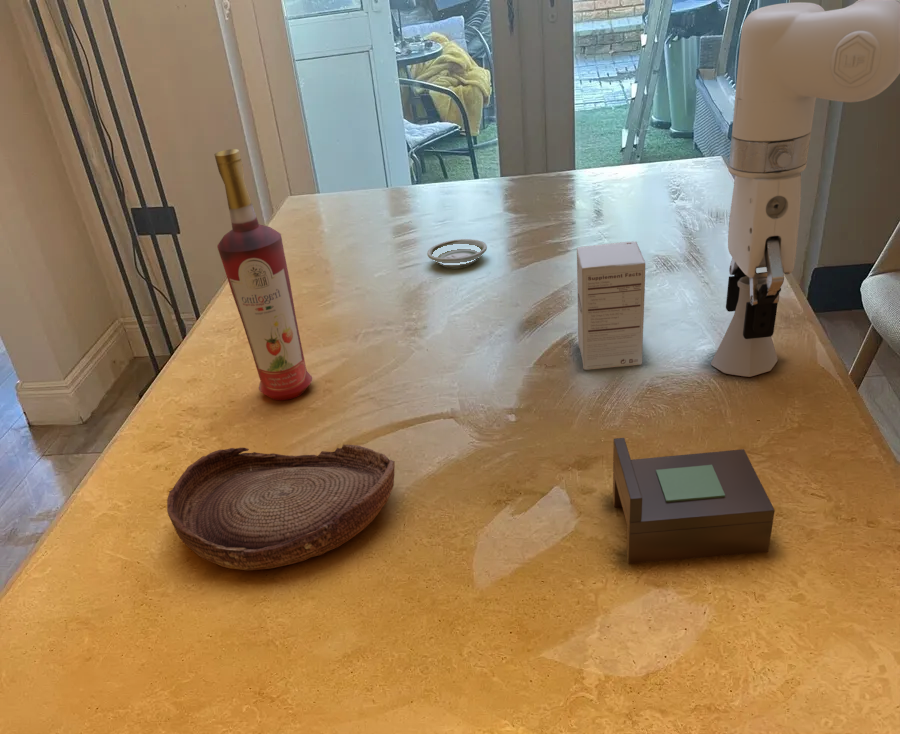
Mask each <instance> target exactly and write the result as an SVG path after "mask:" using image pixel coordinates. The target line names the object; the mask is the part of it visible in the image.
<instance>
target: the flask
mask: <svg viewBox="0 0 900 734" xmlns="http://www.w3.org/2000/svg"><path fill="white" fill-rule="evenodd" d="M766 280H767V279H763V280H758V290H759V289H760V287H761V286H762V284H766ZM737 284H738V287H740V292H739V300H738V303H737V306H736V310H735V311H734V313H733V315H732V318H731V320H730V322H729V325H728V327H727V329H726V331H725V334H724V336H723V338H722V340H721V342H720V344H719V346H718V348H717V350H716V351H715V353H714V356H713V358H712V360H711V362H710V365H711V366H712V367H714V368H715V369H717V370H719V371H720V372H722V373H723V374H727V375H733V376H739V377H740V376H741V377H746V378H747V377H748V378H751V377H755V376H757V375H761V374H764V373H767V372H771V371H772V369H773V368H774V367H775V365H776V364H777V362H778V361H779V359H778V355H777V351H776V347H775V344H774V340H773V336H771V337H763V338H753V339H745V338H744V336H743V328H744V320H745V311H746V303H747V302H750V277H748V276H745V277H741V279H740V280H739V281H738V283H737Z"/></svg>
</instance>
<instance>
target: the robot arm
mask: <svg viewBox="0 0 900 734" xmlns="http://www.w3.org/2000/svg"><path fill="white" fill-rule="evenodd" d="M740 32H741V33H740V41H739V51H738V52H739V53H738V62H737V72H736V75H737V76H736V87H735V96H734V106H733V117H732V129H731V137H730V138H731V139H730V149H729V160H728V169H727V170H728V172H729V174H731V175H732V176H734V181H733V189H732V194H731V203H730V210H729V211H730V212H729V218H728V219H729V221H728V231H727V232H728V233H727V250H728V252H729V255H730V256H731V260H730V264H729V270H728V271H729V276H728V281H727V291H726V300H725V310H726V311H727V312H730V313H731V312H735V310H736V306H737V303H738V300H739V292H740V287H738V284H737V283H738V281H739V280H740V279H741V277H745V276H748V277H750V302H747V303H746V311H745V320H744V328H743V336H744V338H745V339H753V338H763V337H773V335H774V334H775V333H774V332H775V325H776V318H777V313H778V312H777V311H778V305H779V302H780V293H781V291H782V286H783V284H784V280H785V275H790V274H791V273H792V272H793V271H794V269H795V265H796V257H797V247H798V236H799V227H800V215H801V201H802V200H801V199H802V195H801V194H802V174H801V173H802V172H804V171H805V170H806V169H807V165H808V164H807V163H808V157H809V156H808V155H809V149H810V143H811V138H812V137H811V136H812V129H813V122H814V114H815V108H816V102H817V99H821V100H826V101H832V102H841V103H857V102H864V101H867V100H870V99H872V98H874V97H876V96H879V95H880V94H881V93H882V92H884V91H885V90H886V89H887V88H889V87H890V86H891V85H892V83H893V82H894V81H896V79H897V78H898V77H899V75H900V0H856V1H855V2H854V3H852V4H850V5H848V6H845V7H843V8H837V9H830V10H825V8H823V6H821V5H820V4H818V3H814V2H803V1H800V2H799V1H798V2H784V3H783V2H782V3H775V4H769V5H766V6H762V7H759V8H757V9H755V10H752V11H751V12H750V13H748V14H747V17H746V18H745V20H744V22H743V24H742V27H741V31H740ZM762 268H766V271H763V272H757V269H762ZM763 279H767V280H766V284H762V286H761V287H760V289H759V290H758V280H763Z"/></svg>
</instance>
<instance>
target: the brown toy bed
mask: <svg viewBox="0 0 900 734" xmlns="http://www.w3.org/2000/svg"><path fill="white" fill-rule="evenodd" d="M612 440H613V444H612V445H613V447H612V449H613V451H612V453H613V454H612V461H613V462H612V504H613V507H614V508H622V511H623V514H624V518H625V523H626V561H627V563H628V564H631V565H632V564H642V563H654V562H666V561H678V560H690V559H702V558H714V557H725V556H737V555H738V556H739V555H751V554H761V553H762V554H763V553H768V552H769V548H770V543H771V536H772V530H773V524H774V517H775V511H776V510H775V508H774V506H773V504H772V502H771V500H770V498H769V495H768V493H767V492H766V489H765V488H764V485H763V484H762V482H761V480H760V478H759V476H758V474H757V472H756V470H755V468H754V466H753V464H752V462H751V460H750V458H749V457H748V454H747V452H746V450H745V449H744V448H741V449H731V450H730V449H729V450H721V451H710V452H699V453H688V454H677V455H667V456H657V457H644V458H635V459H633V458H632V459H631V455H630V452H629V448H628V445H627V441H626V438H625V437H618V438H616V437H615V438H613V439H612Z"/></svg>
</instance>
